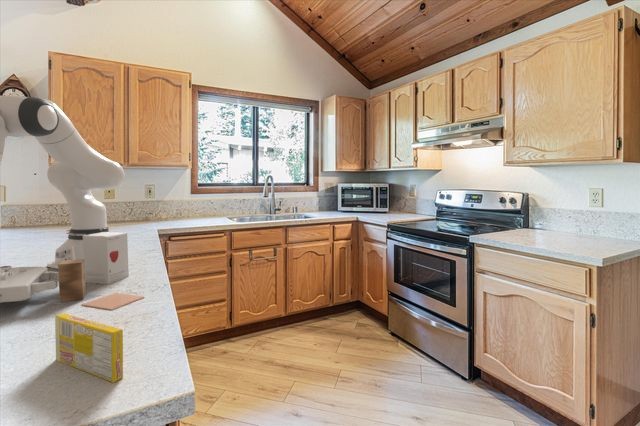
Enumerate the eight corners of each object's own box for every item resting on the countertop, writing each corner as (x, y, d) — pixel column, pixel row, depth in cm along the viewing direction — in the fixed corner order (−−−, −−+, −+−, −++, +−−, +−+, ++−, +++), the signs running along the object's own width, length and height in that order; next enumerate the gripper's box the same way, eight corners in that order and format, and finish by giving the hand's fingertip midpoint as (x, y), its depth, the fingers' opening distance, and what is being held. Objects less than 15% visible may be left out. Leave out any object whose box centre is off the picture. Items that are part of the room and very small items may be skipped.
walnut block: (60, 302, 92) (57, 264, 91) (64, 296, 96) (62, 260, 95) (83, 299, 94) (81, 262, 93) (86, 294, 98) (84, 258, 97)
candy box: (125, 377, 58) (123, 328, 57) (113, 384, 56) (110, 333, 56) (67, 355, 65) (65, 311, 65) (54, 360, 63) (52, 315, 63)
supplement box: (108, 285, 108) (106, 236, 107) (83, 283, 110) (81, 235, 109) (130, 277, 117) (128, 232, 116) (106, 275, 119) (104, 231, 118)
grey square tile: (44, 302, 92) (43, 301, 92) (77, 292, 101) (77, 291, 101) (69, 307, 89) (68, 306, 89) (101, 296, 98) (101, 295, 98)
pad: (82, 306, 90) (81, 304, 90) (116, 294, 99) (116, 292, 99) (112, 311, 87) (111, 309, 87) (144, 298, 96) (144, 296, 96)
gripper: (-28, 284, 78) (50, 277, 84) (5, 264, 96) (67, 259, 102) (-25, 312, 78) (52, 303, 84) (7, 287, 97) (69, 281, 103)
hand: (60, 279), depth 93 cm, fingers open, 8 cm apart
